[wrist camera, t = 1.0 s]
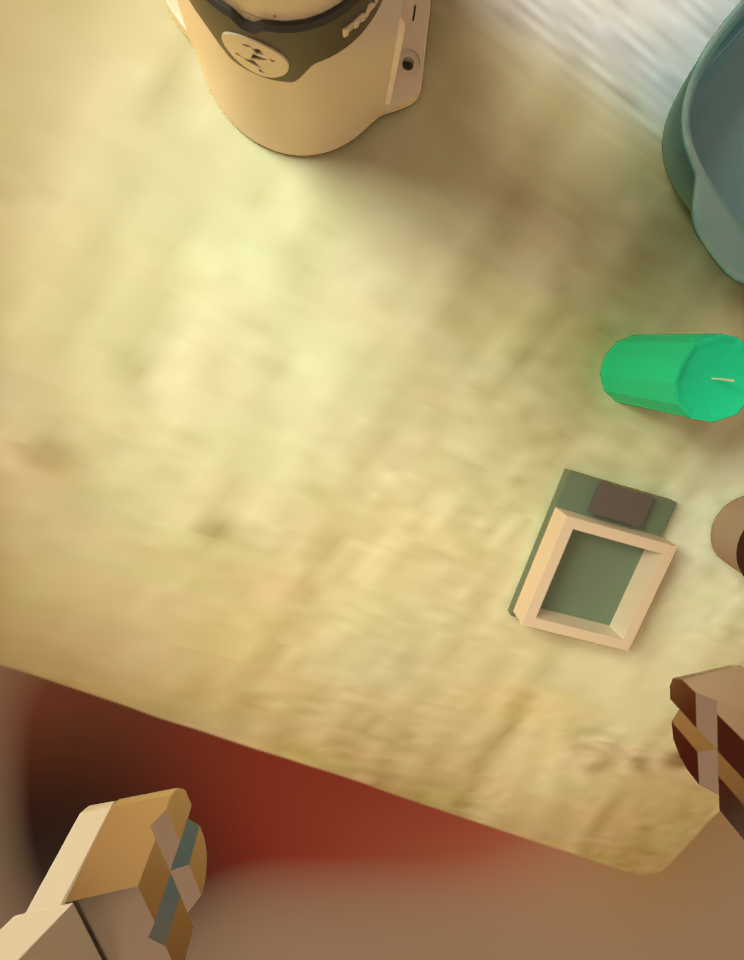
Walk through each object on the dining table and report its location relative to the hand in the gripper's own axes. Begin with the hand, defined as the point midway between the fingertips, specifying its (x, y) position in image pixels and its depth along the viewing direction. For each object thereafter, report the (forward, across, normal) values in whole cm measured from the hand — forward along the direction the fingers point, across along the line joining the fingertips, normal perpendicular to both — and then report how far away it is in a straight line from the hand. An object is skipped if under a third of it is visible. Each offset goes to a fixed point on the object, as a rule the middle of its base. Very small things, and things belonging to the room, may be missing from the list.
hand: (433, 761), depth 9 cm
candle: (+38, -25, +1) cm, 46 cm away
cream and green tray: (+38, -19, +18) cm, 46 cm away
